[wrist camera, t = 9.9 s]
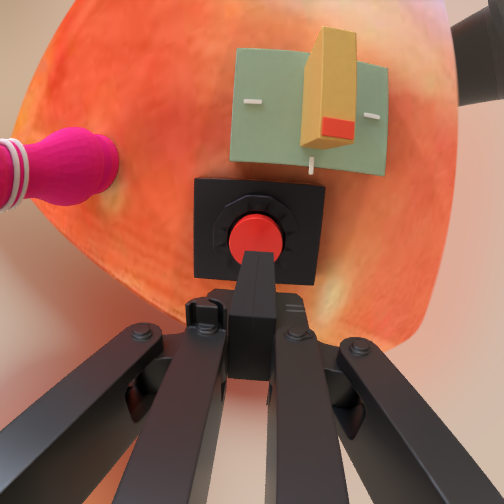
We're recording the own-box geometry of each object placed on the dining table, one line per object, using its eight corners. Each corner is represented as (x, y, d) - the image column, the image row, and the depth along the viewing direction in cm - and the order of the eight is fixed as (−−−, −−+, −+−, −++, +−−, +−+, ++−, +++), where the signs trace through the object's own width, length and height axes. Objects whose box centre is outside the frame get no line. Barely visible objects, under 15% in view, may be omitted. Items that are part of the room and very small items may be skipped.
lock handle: (304, 66, 19) (322, 23, 11) (328, 70, 19) (357, 30, 11) (299, 147, 21) (319, 138, 13) (324, 150, 21) (356, 144, 13)
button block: (320, 184, 25) (330, 188, 21) (310, 276, 28) (317, 294, 24) (199, 176, 25) (188, 179, 21) (198, 269, 28) (189, 286, 24)
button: (283, 215, 22) (284, 219, 21) (279, 263, 24) (280, 270, 22) (232, 212, 23) (229, 216, 21) (230, 259, 24) (228, 267, 22)
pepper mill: (133, 181, 26) (-46, 232, 6) (81, 208, 27) (-73, 275, 7) (112, 117, 24) (-61, 96, 5) (62, 149, 25) (-94, 169, 6)
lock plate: (376, 71, 21) (388, 61, 18) (371, 181, 25) (385, 183, 22) (240, 54, 22) (237, 41, 19) (232, 168, 25) (228, 168, 22)
